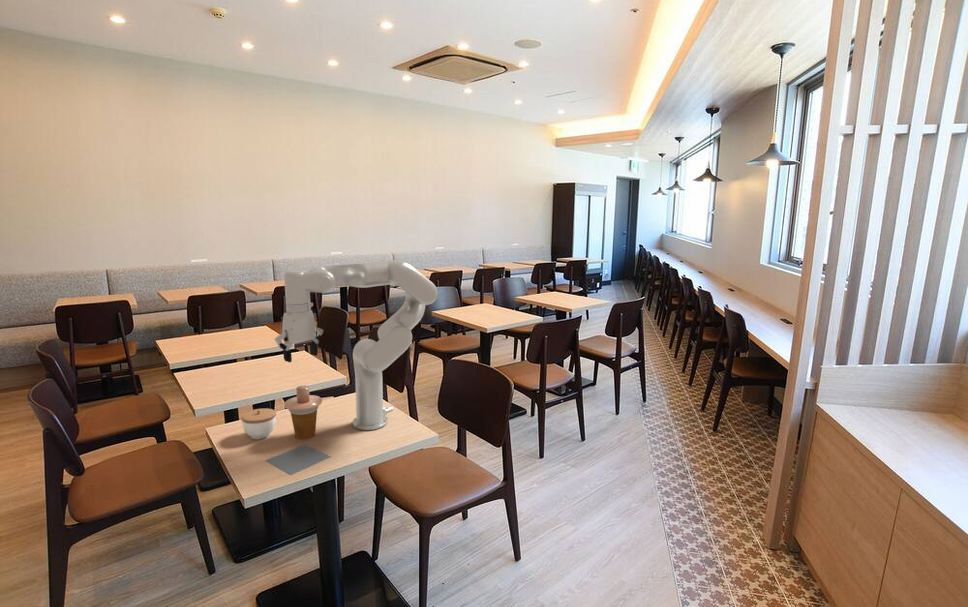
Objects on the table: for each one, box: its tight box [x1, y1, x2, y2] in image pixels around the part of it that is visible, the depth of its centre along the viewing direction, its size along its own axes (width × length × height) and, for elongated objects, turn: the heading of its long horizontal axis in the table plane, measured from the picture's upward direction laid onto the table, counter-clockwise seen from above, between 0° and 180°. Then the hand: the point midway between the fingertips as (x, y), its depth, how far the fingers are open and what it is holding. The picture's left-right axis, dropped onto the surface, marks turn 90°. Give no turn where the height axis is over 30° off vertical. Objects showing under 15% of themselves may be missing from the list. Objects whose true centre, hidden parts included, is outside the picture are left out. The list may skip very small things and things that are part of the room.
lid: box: [284, 385, 323, 411], centre depth 166 cm, size 12×12×6 cm
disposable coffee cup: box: [288, 406, 319, 440], centre depth 168 cm, size 10×10×12 cm
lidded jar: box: [241, 407, 277, 440], centre depth 168 cm, size 11×11×9 cm
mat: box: [264, 443, 331, 476], centre depth 152 cm, size 14×14×1 cm
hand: (301, 358), depth 164 cm, fingers open, 9 cm apart
